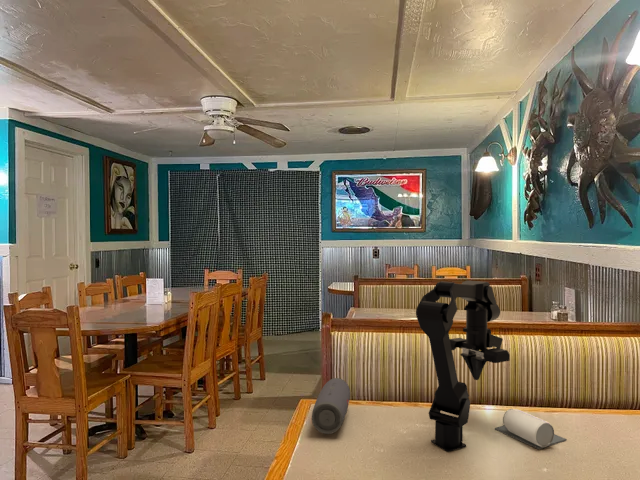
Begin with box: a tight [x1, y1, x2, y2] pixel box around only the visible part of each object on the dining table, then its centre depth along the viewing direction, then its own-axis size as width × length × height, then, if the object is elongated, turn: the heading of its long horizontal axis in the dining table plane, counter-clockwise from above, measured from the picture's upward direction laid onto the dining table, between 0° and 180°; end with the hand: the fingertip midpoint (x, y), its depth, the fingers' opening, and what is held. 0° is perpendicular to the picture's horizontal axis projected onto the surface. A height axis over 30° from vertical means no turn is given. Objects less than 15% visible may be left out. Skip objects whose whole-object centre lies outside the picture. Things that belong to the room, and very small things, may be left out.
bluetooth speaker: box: [311, 377, 351, 435], centre depth 137 cm, size 23×9×10 cm, turn 171°
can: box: [502, 408, 555, 448], centre depth 125 cm, size 6×6×12 cm
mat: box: [494, 424, 567, 450], centre depth 129 cm, size 11×14×1 cm
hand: (476, 379), depth 135 cm, fingers closed
